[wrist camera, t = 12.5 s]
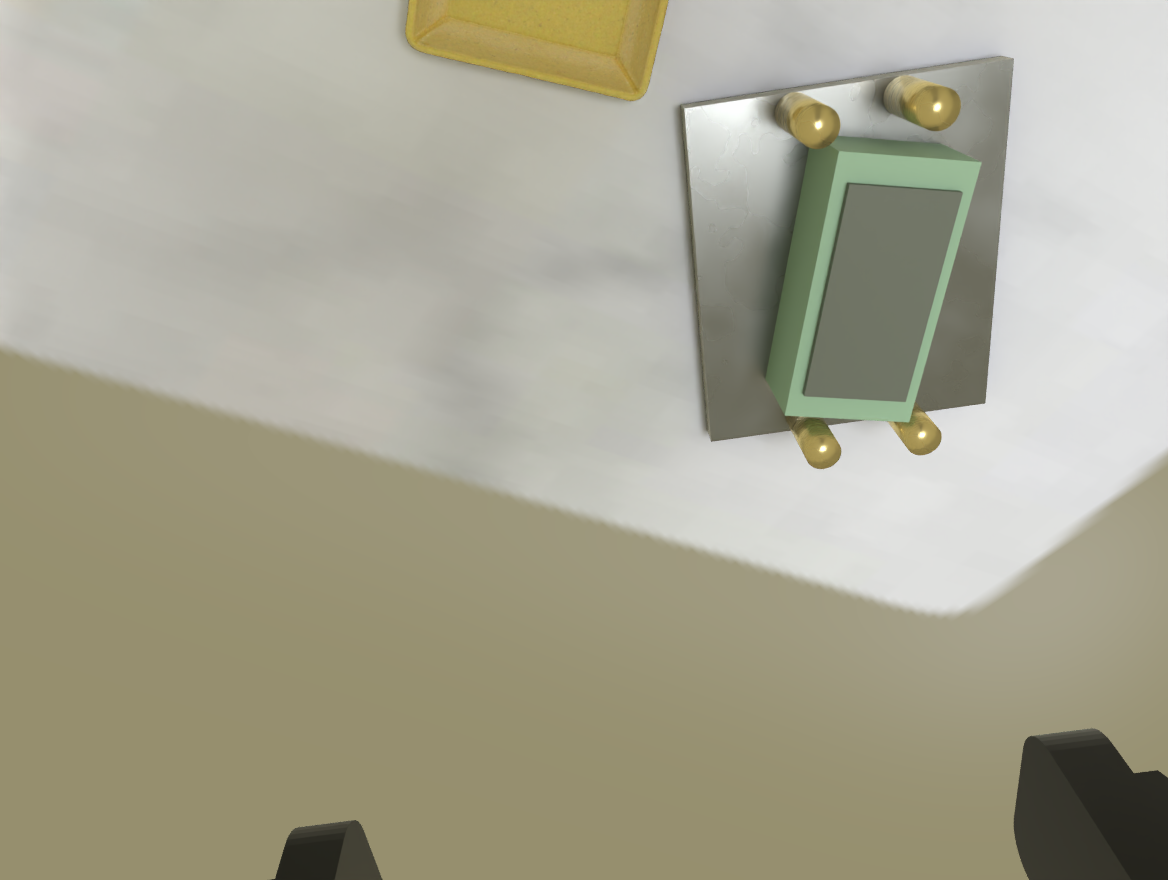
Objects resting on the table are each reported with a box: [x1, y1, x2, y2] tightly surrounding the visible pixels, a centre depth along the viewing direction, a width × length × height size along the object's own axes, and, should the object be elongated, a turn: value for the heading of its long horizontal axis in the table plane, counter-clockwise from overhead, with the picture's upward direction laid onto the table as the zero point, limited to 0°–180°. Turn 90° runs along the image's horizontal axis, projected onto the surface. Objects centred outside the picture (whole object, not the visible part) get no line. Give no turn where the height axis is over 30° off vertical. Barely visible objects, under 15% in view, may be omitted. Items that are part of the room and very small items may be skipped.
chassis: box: [681, 56, 1014, 469], centre depth 35 cm, size 14×12×4 cm
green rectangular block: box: [765, 136, 982, 422], centre depth 34 cm, size 10×5×4 cm, turn 175°
